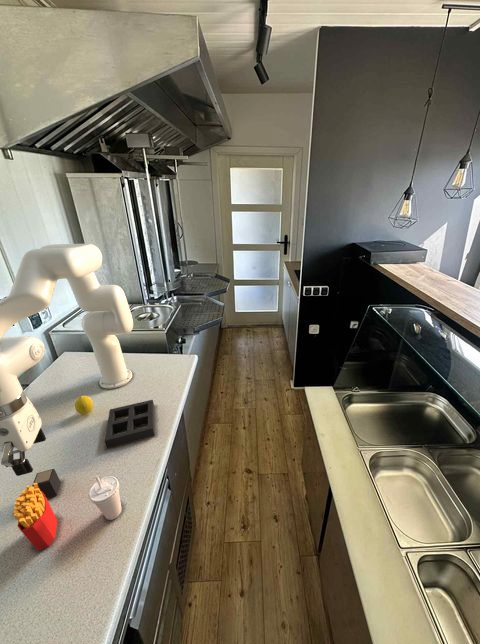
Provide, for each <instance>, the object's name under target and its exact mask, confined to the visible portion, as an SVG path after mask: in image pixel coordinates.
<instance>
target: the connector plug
mask: <svg viewBox="0 0 480 644" xmlns="http://www.w3.org/2000/svg"><path fill="white" fill-rule="evenodd" d="M33 483H37V485H38V488H39V489H40V491H42V492H43V493H44V494H45V496H46V498H47V499H49V498H53V497H56V496H58V494H59V490H60V486H61V485H62V482H61V480H60V477H59V475H58V473H57V471H56V470H55V468H50V469H47V470H43V471H40V472H39V471H38V472H36V474H35V477H34V479H33V482H32V485H31V486H32V487H34V484H33ZM34 489H35V487H34Z"/></svg>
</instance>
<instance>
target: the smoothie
mask: <svg viewBox="0 0 480 644" xmlns="http://www.w3.org/2000/svg"><path fill="white" fill-rule="evenodd" d="M94 477H95V479H96V482H94V484H93V485H91V488H90V489H89V493H88V497H89V501H90V502H91V503H92V504H94V505H96V507H97V508H98V509H99V511H100V513H102V515H103V516H104V517H105V519H106V520H108V521H112V520H115V519H117V518H118V517H119V516H120V514H121V512H122V503H121V497H120V491H119V490H120V489H119V488H120V483H119V482H120V481H118V479H117V478H116V477H115V476H112V475H109V476H104V477H102V478H100V477H99V475H98V474H97V475H95V476H94Z"/></svg>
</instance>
